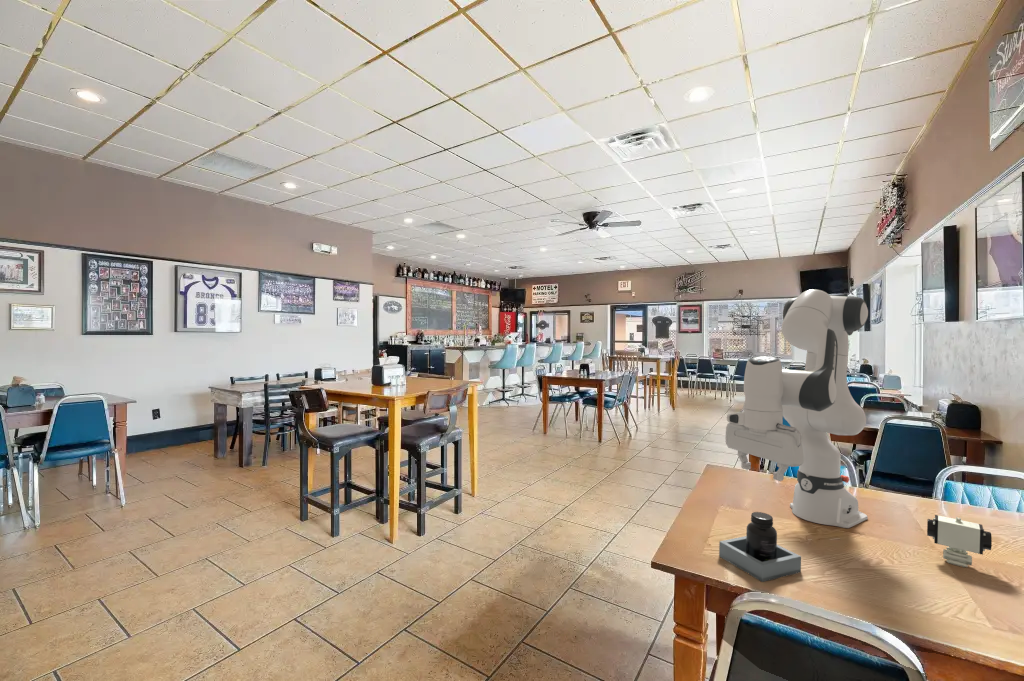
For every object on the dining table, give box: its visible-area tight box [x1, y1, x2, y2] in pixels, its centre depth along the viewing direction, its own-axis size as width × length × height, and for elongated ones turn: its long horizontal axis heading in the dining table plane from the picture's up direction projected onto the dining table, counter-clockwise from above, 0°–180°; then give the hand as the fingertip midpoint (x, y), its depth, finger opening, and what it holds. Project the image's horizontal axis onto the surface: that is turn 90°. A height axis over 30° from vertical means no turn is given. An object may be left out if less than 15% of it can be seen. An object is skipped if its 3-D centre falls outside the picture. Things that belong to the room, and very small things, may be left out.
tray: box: [718, 535, 802, 583], centre depth 115 cm, size 13×13×4 cm
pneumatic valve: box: [926, 514, 993, 568], centre depth 117 cm, size 6×12×12 cm, turn 47°
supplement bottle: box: [745, 511, 778, 562], centre depth 115 cm, size 7×7×12 cm
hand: (761, 474), depth 115 cm, fingers open, 8 cm apart
